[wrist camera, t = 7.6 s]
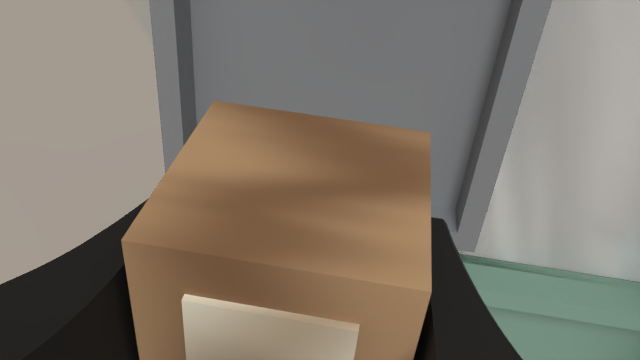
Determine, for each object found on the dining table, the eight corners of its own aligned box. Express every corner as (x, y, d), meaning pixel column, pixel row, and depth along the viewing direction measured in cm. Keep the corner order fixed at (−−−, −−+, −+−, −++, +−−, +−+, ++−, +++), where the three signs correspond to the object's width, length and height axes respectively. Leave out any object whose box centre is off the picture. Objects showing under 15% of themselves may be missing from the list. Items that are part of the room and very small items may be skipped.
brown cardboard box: (430, 131, 13) (432, 298, 9) (395, 288, 16) (383, 471, 12) (214, 100, 13) (117, 246, 9) (218, 259, 16) (145, 425, 12)
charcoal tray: (565, -104, 17) (580, -91, 15) (470, 220, 24) (473, 252, 22) (162, -147, 18) (135, -140, 16) (185, 176, 25) (168, 204, 23)
